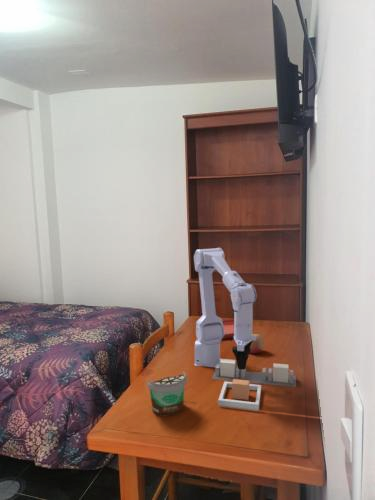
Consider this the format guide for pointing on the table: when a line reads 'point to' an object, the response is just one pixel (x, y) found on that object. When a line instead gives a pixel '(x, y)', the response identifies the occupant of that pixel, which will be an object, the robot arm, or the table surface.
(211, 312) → the robot arm
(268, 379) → the rail
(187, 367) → the table surface
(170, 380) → the food container
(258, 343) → the fruit
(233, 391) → the block
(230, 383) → the tray
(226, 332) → the plant saucer
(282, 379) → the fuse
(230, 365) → the block
